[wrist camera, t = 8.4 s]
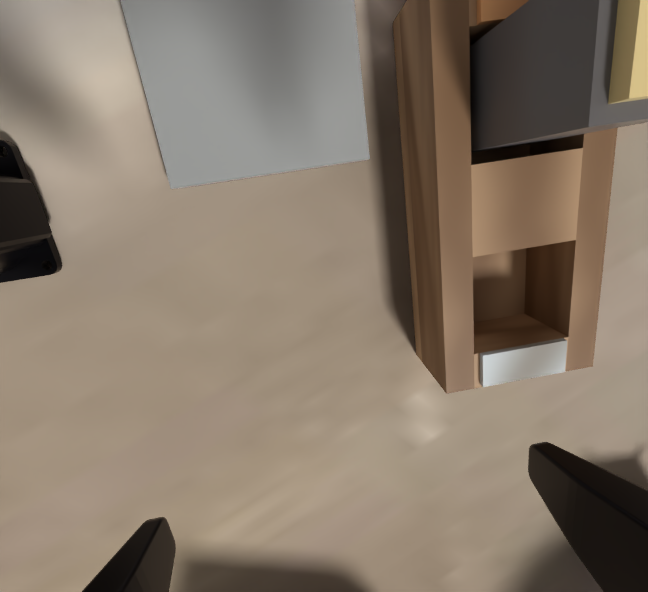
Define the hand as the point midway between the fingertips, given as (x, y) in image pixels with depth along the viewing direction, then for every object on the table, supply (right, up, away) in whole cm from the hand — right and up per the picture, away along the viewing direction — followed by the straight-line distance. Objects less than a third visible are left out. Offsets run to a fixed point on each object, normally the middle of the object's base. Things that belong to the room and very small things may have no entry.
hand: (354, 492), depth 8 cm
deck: (-4, +16, +8) cm, 18 cm away
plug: (+7, +14, +9) cm, 18 cm away
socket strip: (+8, +10, +11) cm, 17 cm away
